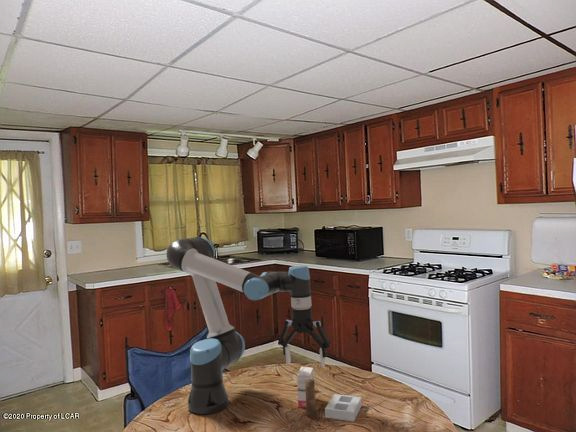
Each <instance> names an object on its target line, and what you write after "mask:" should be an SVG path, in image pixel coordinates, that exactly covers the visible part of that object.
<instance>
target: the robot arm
mask: <svg viewBox="0 0 576 432" xmlns="http://www.w3.org/2000/svg"><path fill="white" fill-rule="evenodd" d="M215 255H216V248H215V246H214V244H213V243H212V241H211V240H209V239H208V238H206V237H200V236H194V237H187V238H180V239H176V240H174V241H172V242H171V243H170V244H169V245H168V247H167V249H166V259H167V261H168V263H169V265H170V266H171V267H173V269H176V270H178V271H181V272H183V273H186V274H188V275H189V276H191V277H192V280H193V284H194V287H195V291H196V293H197V298H198V300H199V303H200V307H201V310H202V314H203V316H204V319H205V322H206V326H207V328H208V334H207V336H206V339H202V340H201V339H200V340H199V341H197V342H195V343H194V344H193V345H192V346H191V348H190V350H189V353H190V354H189V362H190V381H191V388H190V392H189V396H188V400H187V410H188V409H189V410H190V411H191V412H190V411H189V410H188V411H189V412H190V413H192V412H193V413H192V414H194V413H197V414H196V415H210V414H211V415H212V414H214V413H218V412H221V411H223V410H224V409H226V408H227V407H228V406H229V404H230V403H229V401H230V399H229V394H228V392H227V389H226V387H225V384H224V379H223V378H224V377H223V370H225V369H227V368H228V367H230V366H231V365H232V364H235V363H236V362H238V361H239V360H241V358H242V356H243V355H244V354H245V351H246V350H245V349H246V344H245V343H246V342H245V339H244V337H243V336H242V335H241V334H240V333H239V332H237V331H236V329H235V326H233V325H231V324H230V322H229V320H228V319H229V318H228V315H227V313H226V310H225V306H224V304H223V299H222V298H221V294H220V290H219V288H218V284H217V283H219V284H221V285H224V286H226V287H229V288H231V289H234V290H237V291H239V292H240V293H244V295H245V296H246V298H247V299H248V300H251V301H260V300H262V299H265V298H266V297H268V296H271V295H273V294H275V293H278V292H281V293H282V292H284V293H285V292H288V293H290V303H291V306H290V307H291V308H292V309H291V319H292V320H290V319H289V318H288V319H285V321H284V322H283V323H284V325H283V329H282V332H281V334H280V336H279V338H278V340H277V345H279V346H281V347H282V352H283V356H285V365H286V366H289V365H290V364H291V358H292V357H291V349H290V348H291V346H290V344H289V343H290V342H291V340H292V339H293V338H294V336H295V335H296V334H297V333H298V334H305V335H307V334H309V336H311V337H312V339H313V340H314V342H316V344H317V345H318V347H320V348H319V360H320V368H324V367H325V365H326V363H325V362H326V361H325V358H326V357H327V355H328V353H327V349H328V348H330V347H331V345H332V342H331V341H330V339H329V337H328V335H327V333H326V331H325V330H324V328H323V325H322V321H321V320H317V321H314V320H313V308H312V307H313V306H312V305H313V303H312V295H311V276H310V269H309V266H307V265H292V266H290V267H289V268H288V271H264V272H262V273H261V274H260V275H258V274H255V273H253V272H250V271H247V270H245V269H242V268H240V267H237V266H234V265H232V264H229V263H226V262H224V261H220V260H218V259H216V258H215ZM291 326H292V327H293V329H292V331H291V332H290V333H289V335H288V336H287V334H288V331H289V328H290V327H291ZM314 328H316V330H317V332H318V333H317V332H316V330H315V329H314ZM286 336H287V337H286ZM285 338H286V339H285Z"/></svg>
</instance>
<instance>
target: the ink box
mask: <svg viewBox="0 0 576 432" xmlns="http://www.w3.org/2000/svg"><path fill="white" fill-rule="evenodd" d="M296 378H297V379H296V380H297V407H298V408H304V409H305V408H306V390H305V380H308V379H312V380H314V367H310V366H301V367H300V368H299V371H298V372H297V376H296Z"/></svg>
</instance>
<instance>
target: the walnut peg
mask: <svg viewBox="0 0 576 432" xmlns="http://www.w3.org/2000/svg"><path fill="white" fill-rule="evenodd" d="M305 390H306V417H307V418H309V419H310V418H311V419H314V418H316V417H317V411H316V410H317V409H316V389H315V380H314V379H313V380H312V379H308V380H305Z"/></svg>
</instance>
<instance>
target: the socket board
mask: <svg viewBox="0 0 576 432" xmlns="http://www.w3.org/2000/svg"><path fill="white" fill-rule="evenodd" d="M362 406H363V405H362V396H360V397H359V396H353V395H345V394H344V395H343V394H338V393H337V394H336V393H334V394H333V395H332V397H331V399H330V400H329V401H328V403H327V405H326V407H324V418H326V419H333V420H341V421H348V422H355V421H356V418H357V416H358V414H359V412H360V410H361V407H362Z"/></svg>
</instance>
